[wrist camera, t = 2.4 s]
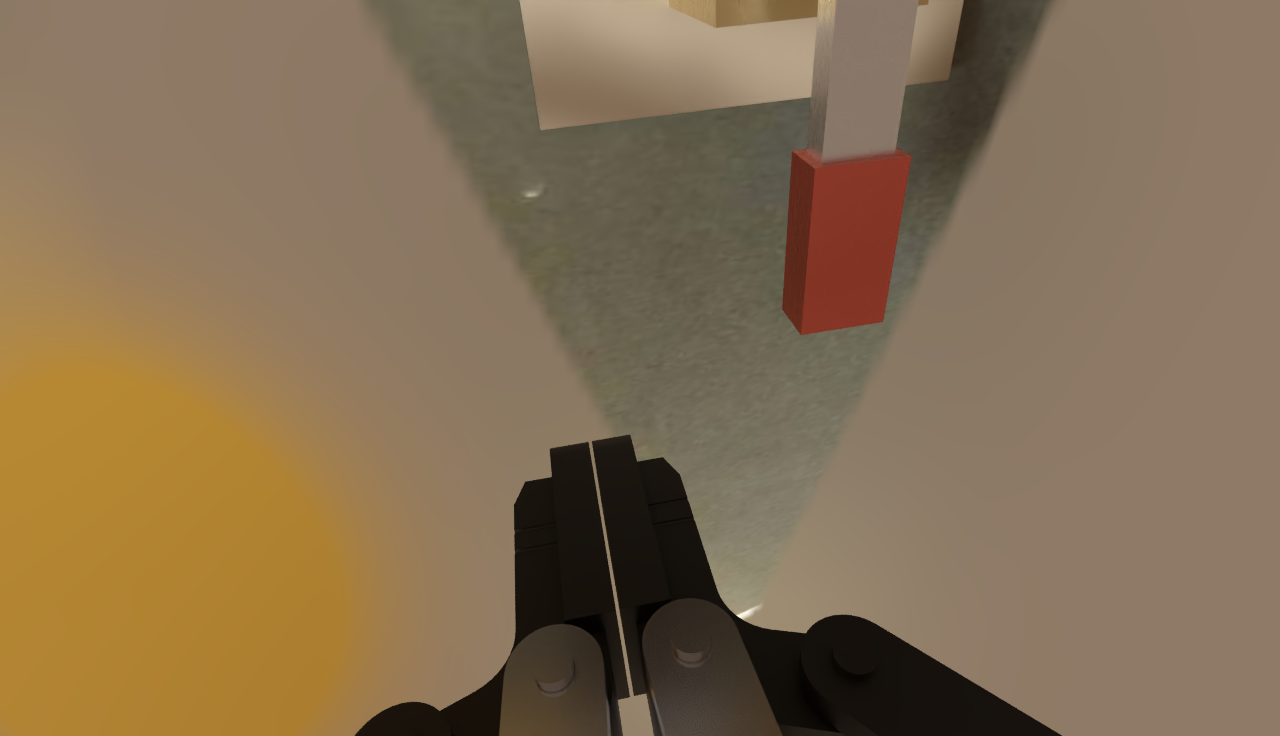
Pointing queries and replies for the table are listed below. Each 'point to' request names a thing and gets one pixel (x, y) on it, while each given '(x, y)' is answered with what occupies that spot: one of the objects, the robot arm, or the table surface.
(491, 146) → the table surface
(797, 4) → the valve
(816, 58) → the lever
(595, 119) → the mounting board
